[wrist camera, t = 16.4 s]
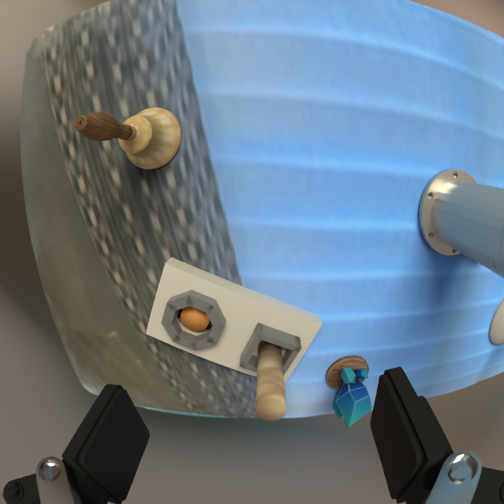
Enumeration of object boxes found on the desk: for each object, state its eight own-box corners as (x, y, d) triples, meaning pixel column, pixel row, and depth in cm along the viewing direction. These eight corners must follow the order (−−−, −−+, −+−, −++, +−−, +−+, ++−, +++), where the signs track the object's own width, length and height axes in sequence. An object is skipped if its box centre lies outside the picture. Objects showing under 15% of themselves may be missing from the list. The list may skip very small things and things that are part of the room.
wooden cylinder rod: (285, 342, 38) (291, 406, 26) (275, 358, 39) (278, 423, 27) (263, 335, 37) (262, 399, 26) (254, 352, 38) (251, 416, 27)
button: (215, 305, 39) (213, 312, 37) (206, 327, 40) (203, 335, 38) (188, 294, 38) (184, 301, 37) (181, 317, 40) (177, 324, 38)
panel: (319, 315, 39) (325, 335, 34) (282, 374, 42) (283, 396, 38) (171, 257, 38) (158, 270, 33) (151, 325, 41) (139, 343, 36)
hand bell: (124, 113, 32) (47, 93, 17) (181, 103, 32) (123, 67, 16) (125, 172, 34) (46, 182, 19) (182, 166, 34) (122, 170, 19)
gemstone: (321, 391, 43) (331, 445, 32) (331, 352, 41) (347, 407, 29) (360, 389, 43) (377, 440, 32) (374, 351, 41) (399, 403, 29)
